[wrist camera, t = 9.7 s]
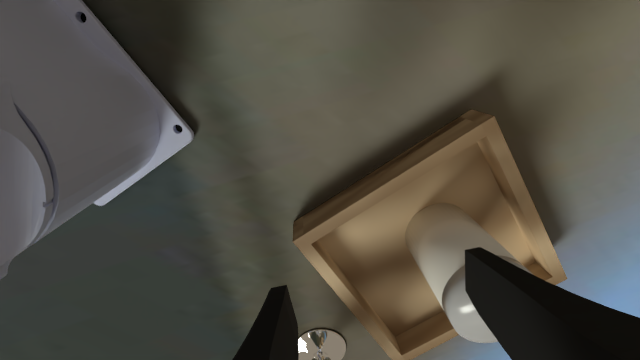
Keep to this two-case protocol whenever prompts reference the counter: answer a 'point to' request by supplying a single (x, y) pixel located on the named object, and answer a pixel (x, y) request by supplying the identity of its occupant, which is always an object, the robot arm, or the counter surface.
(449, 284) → the shaker
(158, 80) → the counter surface
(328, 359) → the wineglass
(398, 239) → the tray
